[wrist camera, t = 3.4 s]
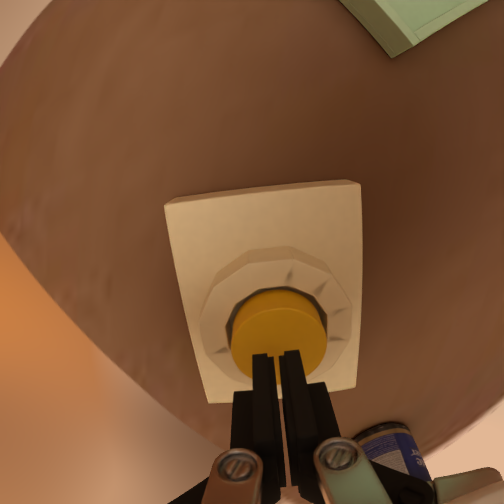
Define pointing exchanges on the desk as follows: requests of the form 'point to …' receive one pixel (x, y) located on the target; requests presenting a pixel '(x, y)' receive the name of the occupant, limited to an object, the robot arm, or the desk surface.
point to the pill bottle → (394, 449)
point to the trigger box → (269, 270)
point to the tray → (406, 19)
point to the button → (278, 330)
